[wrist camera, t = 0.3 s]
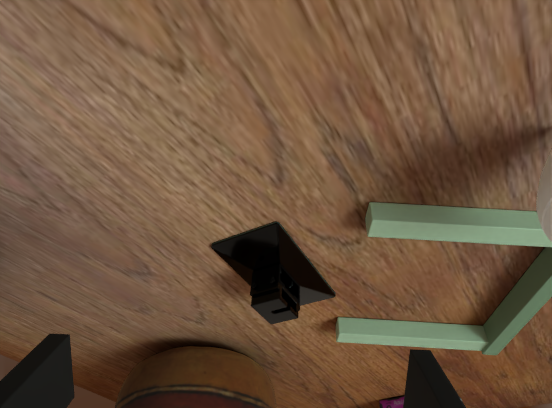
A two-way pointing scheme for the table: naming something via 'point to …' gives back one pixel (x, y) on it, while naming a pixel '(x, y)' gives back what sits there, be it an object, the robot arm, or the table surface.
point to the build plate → (274, 271)
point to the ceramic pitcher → (197, 381)
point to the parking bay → (459, 228)
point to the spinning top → (545, 198)
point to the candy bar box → (393, 403)
